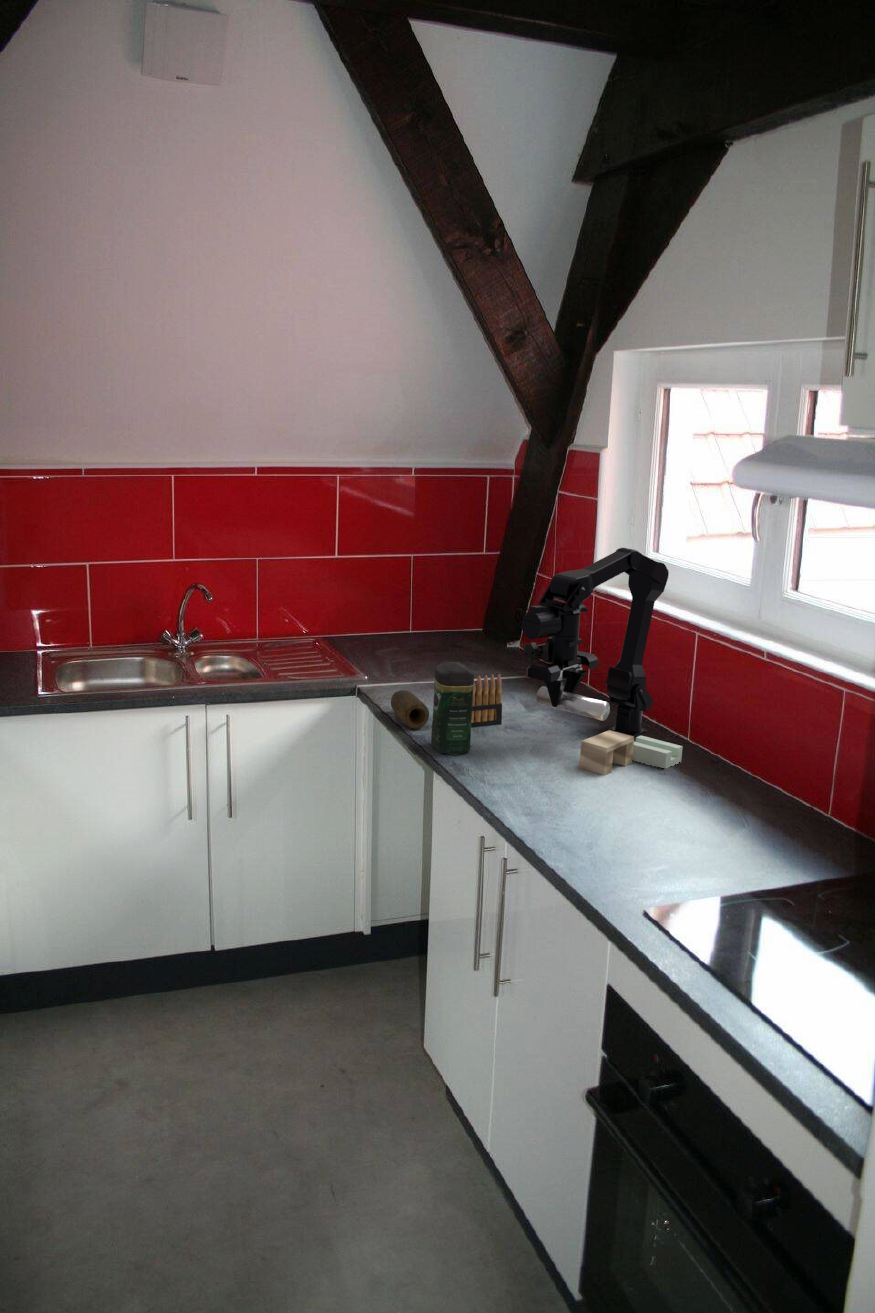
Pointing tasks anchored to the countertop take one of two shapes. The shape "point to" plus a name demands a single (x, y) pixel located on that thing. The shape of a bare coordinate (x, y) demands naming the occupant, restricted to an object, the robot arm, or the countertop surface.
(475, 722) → the ammunition clip
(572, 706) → the axle
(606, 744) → the wooden bridge block
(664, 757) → the v block
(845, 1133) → the countertop surface
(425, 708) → the brown hollow cylinder
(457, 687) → the coffee jar
